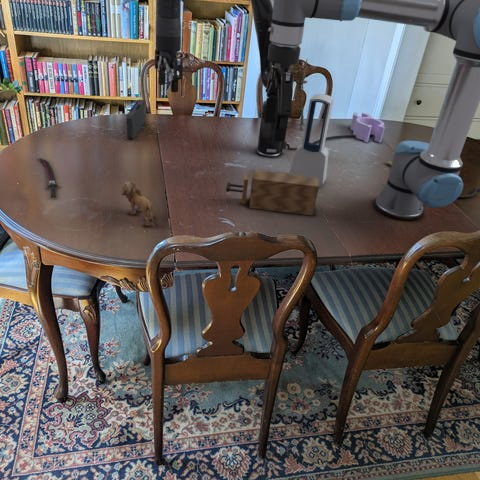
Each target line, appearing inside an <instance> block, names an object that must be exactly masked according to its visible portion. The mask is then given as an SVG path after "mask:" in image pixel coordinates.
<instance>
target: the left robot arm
mask: <svg viewBox="0 0 480 480" xmlns="http://www.w3.org/2000/svg"><path fill="white" fill-rule="evenodd" d="M273 4H274V0H250V5H251V10H252V11H251V12H252V18H253V25H254V30H255V34H256V42H257V47H258V55H259V65H260V66H259V69H260V80H261V84H262V85H263V87H264V89H266V87H267V82H268V78H269V74H270V69H271V62H270V61H269V60H268V49H269V45H270V43H272V42H271V41H270V33H271V32H269V31H268V29H269V28H271V27H272V26H271V24H272V14H273ZM155 9H156V14H155V15H156V18H155V49H154V69H155V70H156V72H157V74H158V85H159V86H166V83H167V82H166V81H167V73H168V75H169V77H170V91H171V92H172V93H178V92H179V80H183V78H184V73H183V72H184V70H183V69H184V68H183V65H184V63H183V62H184V61H183V58H182V57H178V54H177V53H178V52H180V51H181V50H182V20H181V19H182V17H181V16H182V0H156V8H155ZM166 72H167V73H166ZM290 72H292V71H291V70H290ZM294 79H295V78H294V77H293V82H292V89H293V88H294ZM274 98H277V106H276V112H277V113H278V97H274ZM265 109H266V100H263V102H262V105H261V114H260V123H259V131H258V138H257V139H258V140H257V148H256V153H257V154H258V155H259V156H262V157H264V158H265V157H266V158H277V157H279V156H281V155H282V154H283V150H286V149H288V150H290V151H296V150H297V148H298V147H290V146H291V145H290V143H288V142H287V141H286V140H285V142H274V132H275V125H276V117H277V116H275V121H274V123H264V118H265ZM284 111H286V110H284ZM275 114H276V113H275ZM373 137H374V135H372V134H370V136H369V138H373ZM340 138H356V135H353V134H345V135H343V134H342V135H333V136H326V140H331V139H340ZM326 140H325V141H326ZM319 141H320V139H317V140H315V141H312V142H311V143H312V144H315V145H317V144H319Z"/></svg>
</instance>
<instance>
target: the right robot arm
mask: <svg viewBox="0 0 480 480" xmlns="http://www.w3.org/2000/svg"><path fill="white" fill-rule="evenodd" d="M306 18H307V19H320V20H330V21H339V22H343V21H345V22H350V21H354V20H355V19H356V18H358V19H359V18H360V19H365V20H373V21H381V22H387V23H394V24H399V25H400V24H401V25H408V26H416V27H420V28H421V27H422V29H423V30H424V31H425V32H428V33H434V34H438V35H441V36H443V37H446V38H448V39H451V40H453V41H455V44H454V47H453V50H452V56H453V59H455V64H454V67H453V70H452V74H451V76H450V80H449V83H448V85H447V89H446V91H445V92H446V93H445V95H444V98H443V101H442V104H441V108H440V110H439V114H438V116H437V120H436V123H435V125H434V128H433V132H432V135H431V137H430V141H429V143H428V142H424V141H419V140H403V141H400V142H399V143H398V144H397V147H396V149H395V151H394V156H393V159H392V166H390V170H389V174H388V177H387V180H386V184H384V186H383V188H381V189H380V191H379V194H378V195H377V197H376V199H375V202H374V207H375V208H376V209H377V210H378V211H379V212H380V213H381V214H383V215H385V216H386V217H390V218H393V219H396V220H401V221H414V220H417V219H419V218H421V217H422V215H423V212H424V205H425V207H428V208H432V209H439V208H444V207H446V206H449V205H450V204H451V203H454V202H455V201H456V200H457V199H468V198H469V199H470V198H472V197H474V196H475V195H476V194H477V192H478V191H479V187H478V186H476V187H475V188H474V189H473V192H472V193H470V194H463V195H462V192H463V189H464V182H463V180H462V177H460V176H459V175H460V173H461V170H462V168H463V165H464V162H463V161H462V158H461V153H462V151H463V148H464V145H465V142H466V140H467V137H468V136H469V135H468V134H469V132H470V129H471V126H472V124H473V121H474V120H475V119H474V118H475V115H476V113H477V110H478V107H479V105H480V0H274V4H273V14H272V24H271V26H272V27H271V28H269V29H268V31H269V32H271V33H270V41H271V42H272V43H270V45H269V49H268V60H269V61H270V62H271V69H270V74H269V78H268V82H267V87H266V88H265V93H266V100H265V101H266V109H265V118H264V123H274V121H275V116H277V117H276V125H275V132H274V142H285V141H286V137H287V136H286V135H287V129H288V121H289V120H288V119H289V118H290V117H292V115H293V113H292V110H293V109H292V108H293V105H292V100H293V88H292V82H293V83H294V81H293V78H294V72H293V71H291V66H293V65H297V64H299V62H300V56H301V46H300V45H302V43H303V36H304V30H305V21H306ZM290 71H291V72H290ZM274 97H278V113H277V112H276V106H277V98H274ZM284 110H286V111H284ZM275 113H276V114H275Z"/></svg>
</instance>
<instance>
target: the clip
mask: <svg viewBox="0 0 480 480" xmlns="http://www.w3.org/2000/svg"><path fill="white" fill-rule="evenodd" d="M358 114H359V113H358V112H353V114H352V118H351V122H350V126H349V129H350V130H351V131H353V132H352V135H356V137H355V138H356V139H358V140H361V141H363V142H364V143H368V142H369V140H370V137H369V136H370V135H373V136H374V139H373V140H374V142H376V143H382V140H383V137H384V132H385V129H386V127H385V122H384V121H383V120H380V119H377V118H374V117H372V115H371V114H369V113H366V112H361V115H358Z"/></svg>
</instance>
